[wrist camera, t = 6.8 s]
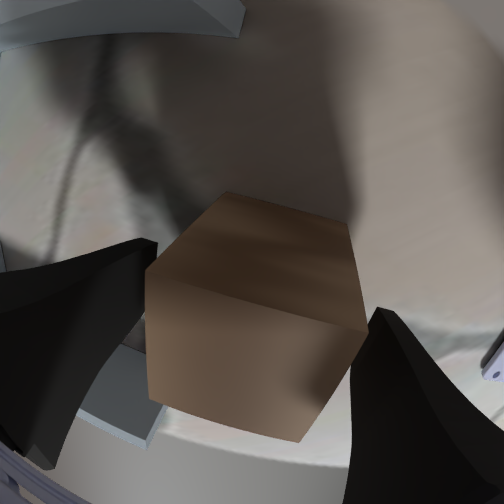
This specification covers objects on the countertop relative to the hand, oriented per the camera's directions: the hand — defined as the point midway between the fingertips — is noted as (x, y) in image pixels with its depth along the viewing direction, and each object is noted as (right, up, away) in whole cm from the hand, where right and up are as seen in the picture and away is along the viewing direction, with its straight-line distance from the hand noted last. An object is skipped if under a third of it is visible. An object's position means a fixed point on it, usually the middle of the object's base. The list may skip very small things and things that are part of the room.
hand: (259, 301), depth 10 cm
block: (+1, +1, +2) cm, 3 cm away
